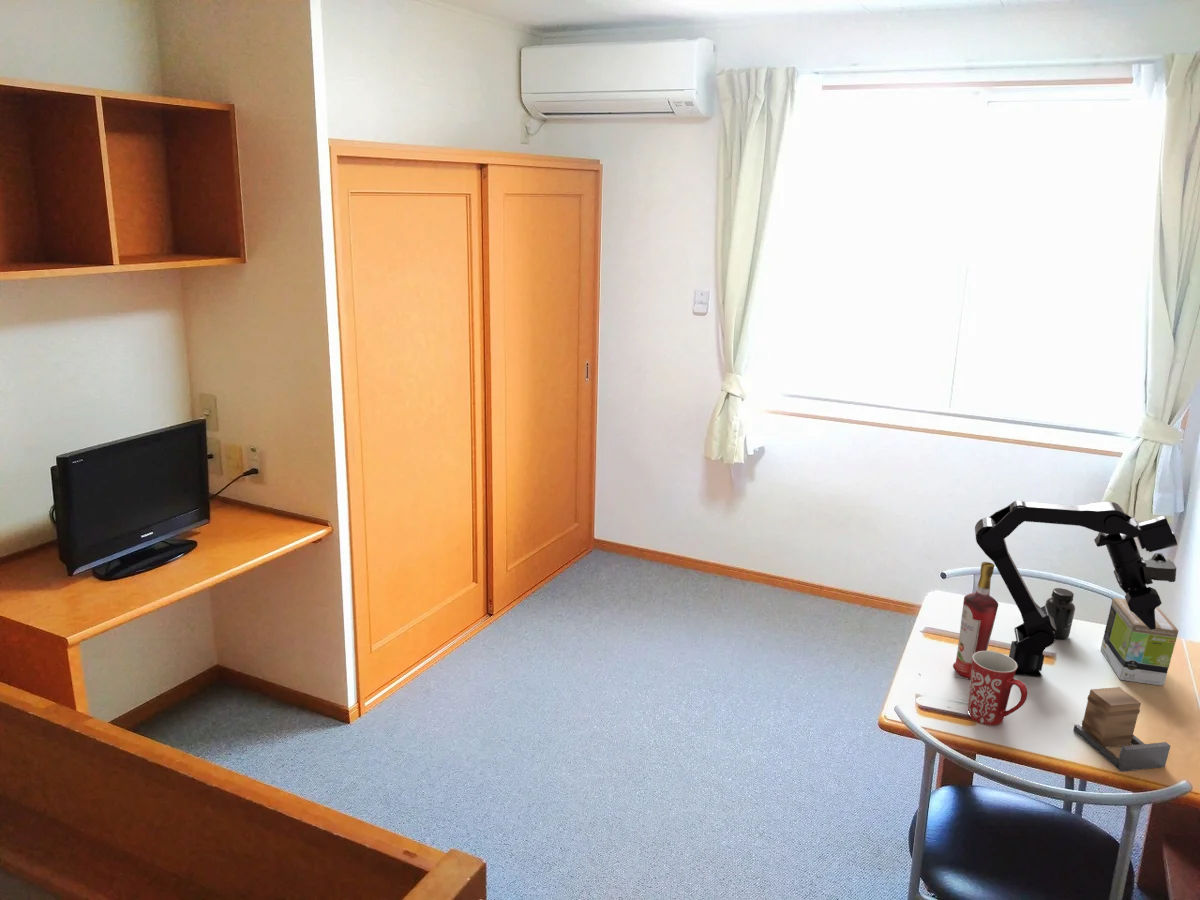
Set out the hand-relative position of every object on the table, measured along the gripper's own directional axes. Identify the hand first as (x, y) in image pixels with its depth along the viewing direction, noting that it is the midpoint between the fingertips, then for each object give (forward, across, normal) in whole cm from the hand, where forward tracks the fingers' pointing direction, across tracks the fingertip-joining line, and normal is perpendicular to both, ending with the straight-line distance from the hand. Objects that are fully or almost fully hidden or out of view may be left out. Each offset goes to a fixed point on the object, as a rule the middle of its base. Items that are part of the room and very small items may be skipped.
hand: (1148, 619), depth 204 cm
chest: (+12, -24, +16) cm, 31 cm away
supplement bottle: (+10, +23, +21) cm, 32 cm away
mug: (+2, -26, +36) cm, 45 cm away
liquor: (0, -8, +40) cm, 41 cm away
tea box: (+17, +12, +7) cm, 22 cm away
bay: (+13, -27, +15) cm, 33 cm away
